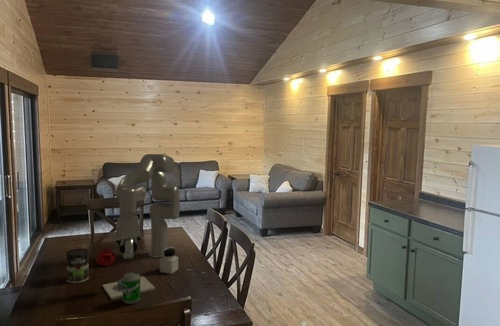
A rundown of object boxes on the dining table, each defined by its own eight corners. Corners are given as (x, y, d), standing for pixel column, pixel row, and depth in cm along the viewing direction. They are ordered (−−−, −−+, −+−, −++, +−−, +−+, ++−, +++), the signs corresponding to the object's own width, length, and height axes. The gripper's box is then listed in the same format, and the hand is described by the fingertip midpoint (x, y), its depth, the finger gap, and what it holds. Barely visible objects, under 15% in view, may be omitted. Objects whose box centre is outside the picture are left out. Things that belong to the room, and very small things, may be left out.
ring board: (143, 278, 198) (143, 271, 198) (154, 289, 185) (154, 282, 185) (102, 286, 187) (102, 279, 187) (111, 299, 174) (111, 291, 174)
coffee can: (90, 281, 194) (89, 253, 192) (67, 284, 189) (66, 256, 187) (88, 273, 203) (87, 247, 201) (66, 277, 198) (65, 249, 197)
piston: (132, 254, 188) (131, 236, 187) (135, 257, 184) (135, 238, 183) (121, 256, 185) (121, 237, 185) (124, 259, 181) (124, 240, 181)
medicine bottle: (178, 269, 211) (178, 247, 210) (171, 274, 205) (171, 251, 203) (166, 267, 214) (166, 246, 212) (159, 272, 207) (159, 250, 206)
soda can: (124, 297, 176) (124, 271, 175) (141, 297, 177) (141, 271, 176) (120, 305, 169) (120, 278, 168) (138, 304, 169) (138, 278, 168)
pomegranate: (92, 265, 215) (91, 249, 214) (106, 260, 224) (106, 244, 223) (105, 268, 210) (104, 251, 209) (119, 262, 219) (118, 246, 218)
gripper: (143, 210, 191) (143, 247, 192) (107, 214, 181) (107, 252, 183) (148, 213, 185) (148, 251, 186) (111, 218, 175) (112, 257, 177)
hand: (128, 251), depth 185 cm, fingers closed on piston, 5 cm apart
